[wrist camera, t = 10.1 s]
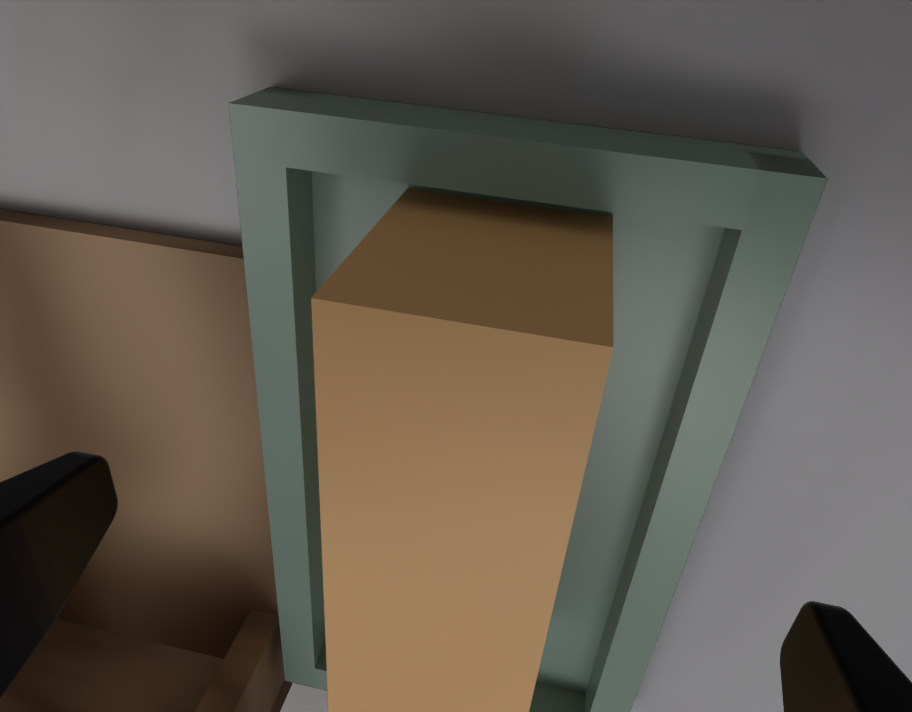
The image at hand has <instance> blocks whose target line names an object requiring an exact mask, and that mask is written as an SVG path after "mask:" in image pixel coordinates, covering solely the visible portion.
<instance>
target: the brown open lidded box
mask: <svg viewBox="0 0 912 712" xmlns="http://www.w3.org/2000/svg"><path fill="white" fill-rule="evenodd" d="M73 451H81V452H86V453H91V454H96V455H100V456H102V457H104V458H105V459H106V460H107V461H108V464H109V467H110V471H111V475H112V478H113V482H114V486H115V490H116V494H117V498H118V508H117V512H116V515H115V517H114V520H113V521H112V523H111V525H110V527H109V528H108V530H107V532H106V534H105V535H104V537H103V539H102V541H101V542H100V544H99V546H98V548H97V549H96V551H95V553H94V555H93V556H92V558H91V560H90V562H89V563H88V565H87V567H86V569H85V570H84V572H83V574H82V576H81V577H80V579H79V581H78V583H77V584H76V586H75V588H74V590H73V591H72V593H71V595H70V596H69V598H68V600H67V602H66V603H65V605H64V607H63V608H62V610H61V612H60V613H59V615H58V616H57V618H56V620H55V621H54V623H53V624H52V626H51V627H50V629H49V630H48V631H47V633H46V634H45V636H44V637H43V639H42V640H41V642H40V643H39V644H38V646H37V647H36V649H35V650H34V651H33V653H32V654H31V656H30V657H29V659H28V660H27V661H26V663H25V664H24V666H23V667H22V668H21V670H20V671H19V673H18V674H17V675H16V677H15V678H14V680H13V681H12V683H11V684H10V685H9V687H8V688H7V690H6V691H5V692H4V694H3V695H2V697H1V698H0V712H280V710H281V708H282V706H283V703H284V701H285V699H286V696H287V694H288V692H289V690H290V687H291V685H292V683H293V682H288V681H285V675H284V665H283V655H282V645H281V634H280V624H279V614H278V604H277V593H276V583H275V573H274V563H273V553H272V542H271V532H270V522H269V512H268V502H267V491H266V481H265V471H264V461H263V450H262V440H261V430H260V420H259V410H258V399H257V389H256V379H255V369H254V358H253V348H252V338H251V328H250V318H249V307H248V297H247V287H246V277H245V266H244V256H243V247H242V246H235V245H229V244H222V243H216V242H209V241H203V240H197V239H190V238H184V237H177V236H171V235H164V234H158V233H151V232H145V231H138V230H132V229H125V228H119V227H113V226H106V225H100V224H93V223H87V222H80V221H74V220H67V219H61V218H54V217H48V216H42V215H35V214H29V213H22V212H16V211H9V210H3V209H0V482H2V481H4V480H6V479H9V478H11V477H13V476H16V475H18V474H20V473H23V472H25V471H27V470H30V469H32V468H34V467H37V466H39V465H41V464H44V463H46V462H48V461H51V460H53V459H55V458H57V457H60V456H62V455H64V454H67V453H70V452H73Z"/></svg>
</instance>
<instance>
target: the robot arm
mask: <svg viewBox="0 0 912 712" xmlns="http://www.w3.org/2000/svg"><path fill="white" fill-rule="evenodd" d="M117 508H118V498H117V494H116V490H115V486H114V482H113V478H112V475H111V471H110V467H109V464H108V461H107V460H106V459H105V458H104V457H102V456H100V455H96V454H91V453H86V452H81V451H73V452H70V453H67V454H64V455H62V456H60V457H57V458H55V459H53V460H51V461H48V462H46V463H44V464H41V465H39V466H37V467H34V468H32V469H30V470H27V471H25V472H23V473H20V474H18V475H16V476H13V477H11V478H9V479H6V480H4V481H2V482H0V698H1V697H2V695H3V694H4V692H5V691H6V690H7V688H8V687H9V685H10V684H11V683H12V681H13V680H14V678H15V677H16V675H17V674H18V673H19V671H20V670H21V668H22V667H23V666H24V664H25V663H26V661H27V660H28V659H29V657H30V656H31V654H32V653H33V651H34V650H35V649H36V647H37V646H38V644H39V643H40V642H41V640H42V639H43V637H44V636H45V634H46V633H47V631H48V630H49V629H50V627H51V626H52V624H53V623H54V621H55V620H56V618H57V616H58V615H59V613H60V612H61V610H62V608H63V607H64V605H65V603H66V602H67V600H68V598H69V596H70V595H71V593H72V591H73V590H74V588H75V586H76V584H77V583H78V581H79V579H80V577H81V576H82V574H83V572H84V570H85V569H86V567H87V565H88V563H89V562H90V560H91V558H92V556H93V555H94V553H95V551H96V549H97V548H98V546H99V544H100V542H101V541H102V539H103V537H104V535H105V534H106V532H107V530H108V528H109V527H110V525H111V523H112V521H113V520H114V517H115V515H116V512H117ZM780 668H781V680H782V693H783V705H784V712H912V682H911V681H910V680H909V679H908V678H907V677H906V675H905V674H904V673H903V672H902V671H901V670H900V669H899V668H898V666H897V665H896V664H895V663H894V662H893V661H892V660H891V658H890V657H889V656H888V655H887V654H886V653H885V652H884V651H883V649H882V648H881V647H880V646H879V645H878V644H877V643H876V641H875V640H874V639H873V638H872V637H871V636H870V635H869V634H868V632H867V631H866V630H865V629H864V628H863V627H862V626H861V624H860V623H859V622H858V621H857V620H856V619H855V618H854V617H853V615H852V614H851V613H850V612H848V611H847V610H846V609H844V608H842V607H838V606H834V605H829V604H824V603H819V602H814V601H810V602H807V603H806V604H804V605H803V607H802V608H801V610H800V612H799V613H798V615H797V617H796V619H795V621H794V623H793V625H792V627H791V628H790V630H789V632H788V634H787V636H786V638H785V640H784V642H783V644H782V648H781V654H780Z"/></svg>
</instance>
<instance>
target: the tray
mask: <svg viewBox="0 0 912 712" xmlns="http://www.w3.org/2000/svg"><path fill="white" fill-rule="evenodd" d="M229 113H230V123H231V134H232V144H233V154H234V164H235V174H236V185H237V195H238V205H239V215H240V226H241V236H242V246H243V256H244V266H245V277H246V287H247V297H248V307H249V318H250V328H251V338H252V348H253V358H254V369H255V379H256V389H257V399H258V410H259V420H260V430H261V440H262V450H263V461H264V471H265V481H266V491H267V502H268V512H269V522H270V532H271V542H272V553H273V563H274V573H275V583H276V593H277V604H278V614H279V624H280V634H281V645H282V655H283V665H284V675H285V681H288V682H293V683H297V684H301V685H305V686H309V687H313V688H317V689H322V690H326V691H328V687H327V663H326V640H325V616H324V592H323V568H322V544H321V520H320V497H319V473H318V449H317V425H316V401H315V377H314V354H313V330H312V306H311V298H312V297H313V295H314V294H315V293H316V292H317V291H318V290H319V289H320V287H321V286H322V285H323V284H324V283H325V282H326V281H327V280H328V278H329V277H330V276H331V275H332V274H333V273H334V272H335V270H336V269H337V268H338V267H339V266H340V265H341V264H342V262H343V261H344V260H345V259H346V258H347V257H348V256H349V254H350V253H351V252H352V251H353V250H354V249H355V248H356V246H357V245H358V244H359V243H360V242H361V241H362V240H363V238H364V237H365V236H366V235H367V234H368V233H369V232H370V230H371V229H372V228H373V227H374V226H375V225H376V224H377V222H378V221H379V220H380V219H381V218H382V217H383V216H384V214H385V213H386V212H387V211H388V210H389V209H390V208H391V207H392V205H393V204H394V203H395V202H396V201H397V200H398V199H399V197H400V196H401V195H402V194H403V193H404V192H405V191H406V189H407V188H409V189H416V190H423V191H430V192H437V193H445V194H452V195H459V196H466V197H473V198H481V199H488V200H495V201H502V202H510V203H517V204H524V205H531V206H538V207H546V208H553V209H560V210H567V211H574V212H582V213H589V214H596V215H603V216H610V217H613V331H614V348H613V352H612V356H611V361H610V365H609V369H608V374H607V378H606V382H605V387H604V391H603V395H602V399H601V404H600V408H599V412H598V417H597V421H596V425H595V430H594V434H593V438H592V443H591V447H590V451H589V455H588V460H587V464H586V468H585V473H584V477H583V481H582V486H581V490H580V494H579V498H578V503H577V507H576V511H575V516H574V520H573V524H572V529H571V533H570V537H569V542H568V546H567V550H566V554H565V559H564V563H563V567H562V572H561V576H560V580H559V585H558V589H557V593H556V598H555V602H554V606H553V610H552V615H551V619H550V623H549V628H548V632H547V636H546V641H545V645H544V649H543V653H542V658H541V662H540V666H539V671H538V675H537V679H536V684H535V688H534V692H533V697H532V701H531V705H530V709H529V712H630V711H631V708H632V705H633V703H634V700H635V697H636V695H637V692H638V689H639V686H640V684H641V681H642V678H643V676H644V673H645V670H646V667H647V665H648V662H649V659H650V657H651V654H652V651H653V649H654V646H655V643H656V640H657V638H658V635H659V632H660V630H661V627H662V624H663V622H664V619H665V616H666V613H667V611H668V608H669V605H670V603H671V600H672V597H673V595H674V592H675V589H676V586H677V584H678V581H679V578H680V576H681V573H682V570H683V568H684V565H685V562H686V559H687V557H688V554H689V551H690V549H691V546H692V543H693V540H694V538H695V535H696V532H697V530H698V527H699V524H700V522H701V519H702V516H703V513H704V511H705V508H706V505H707V503H708V500H709V497H710V495H711V492H712V489H713V486H714V484H715V481H716V478H717V476H718V473H719V470H720V468H721V465H722V462H723V459H724V457H725V454H726V451H727V449H728V446H729V443H730V441H731V438H732V435H733V432H734V430H735V427H736V424H737V422H738V419H739V416H740V413H741V411H742V408H743V405H744V403H745V400H746V397H747V395H748V392H749V389H750V386H751V384H752V381H753V378H754V376H755V373H756V370H757V368H758V365H759V362H760V359H761V357H762V354H763V351H764V349H765V346H766V343H767V341H768V338H769V335H770V332H771V330H772V327H773V324H774V322H775V319H776V316H777V314H778V311H779V308H780V305H781V303H782V300H783V297H784V295H785V292H786V289H787V286H788V284H789V281H790V278H791V276H792V273H793V270H794V268H795V265H796V262H797V259H798V257H799V254H800V251H801V249H802V246H803V243H804V241H805V238H806V235H807V232H808V230H809V227H810V224H811V222H812V219H813V216H814V214H815V211H816V208H817V205H818V203H819V200H820V197H821V195H822V192H823V189H824V187H825V184H826V181H827V178H826V177H825V176H824V175H823V173H822V172H821V171H820V170H819V169H818V168H817V167H816V166H815V165H814V164H813V163H812V162H811V161H810V160H809V159H808V158H807V157H806V156H805V155H804V154H803V153H802V152H800V151H792V150H784V149H775V148H767V147H759V146H751V145H742V144H734V143H726V142H718V141H710V140H701V139H693V138H685V137H677V136H668V135H660V134H652V133H644V132H636V131H627V130H619V129H611V128H603V127H594V126H586V125H578V124H570V123H562V122H553V121H545V120H537V119H529V118H520V117H512V116H504V115H496V114H488V113H479V112H471V111H463V110H455V109H446V108H438V107H430V106H422V105H414V104H405V103H397V102H389V101H381V100H373V99H364V98H356V97H348V96H340V95H331V94H323V93H315V92H307V91H299V90H290V89H282V88H274V87H269V88H266V89H264V90H261V91H259V92H256V93H253V94H251V95H248V96H246V97H243V98H241V99H238V100H235V101H233V102H230V103H229Z"/></svg>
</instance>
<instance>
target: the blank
mask: <svg viewBox="0 0 912 712" xmlns="http://www.w3.org/2000/svg"><path fill="white" fill-rule="evenodd" d="M311 306H312V330H313V354H314V377H315V401H316V425H317V449H318V473H319V497H320V520H321V544H322V568H323V592H324V616H325V640H326V663H327V687H328V711H329V712H529V709H530V705H531V701H532V697H533V692H534V688H535V684H536V679H537V675H538V671H539V666H540V662H541V658H542V653H543V649H544V645H545V641H546V636H547V632H548V628H549V623H550V619H551V615H552V610H553V606H554V602H555V598H556V593H557V589H558V585H559V580H560V576H561V572H562V567H563V563H564V559H565V554H566V550H567V546H568V542H569V537H570V533H571V529H572V524H573V520H574V516H575V511H576V507H577V503H578V498H579V494H580V490H581V486H582V481H583V477H584V473H585V468H586V464H587V460H588V455H589V451H590V447H591V443H592V438H593V434H594V430H595V425H596V421H597V417H598V412H599V408H600V404H601V399H602V395H603V391H604V387H605V382H606V378H607V374H608V369H609V365H610V361H611V356H612V352H613V348H614V331H613V217H610V216H603V215H596V214H589V213H582V212H574V211H567V210H560V209H553V208H546V207H538V206H531V205H524V204H517V203H510V202H502V201H495V200H488V199H481V198H473V197H466V196H459V195H452V194H445V193H437V192H430V191H423V190H416V189H409V188H407V189H406V191H405V192H404V193H403V194H402V195H401V196H400V197H399V199H398V200H397V201H396V202H395V203H394V204H393V205H392V207H391V208H390V209H389V210H388V211H387V212H386V213H385V214H384V216H383V217H382V218H381V219H380V220H379V221H378V222H377V224H376V225H375V226H374V227H373V228H372V229H371V230H370V232H369V233H368V234H367V235H366V236H365V237H364V238H363V240H362V241H361V242H360V243H359V244H358V245H357V246H356V248H355V249H354V250H353V251H352V252H351V253H350V254H349V256H348V257H347V258H346V259H345V260H344V261H343V262H342V264H341V265H340V266H339V267H338V268H337V269H336V270H335V272H334V273H333V274H332V275H331V276H330V277H329V278H328V280H327V281H326V282H325V283H324V284H323V285H322V286H321V287H320V289H319V290H318V291H317V292H316V293H315V294H314V295H313V297H312V298H311Z"/></svg>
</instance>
